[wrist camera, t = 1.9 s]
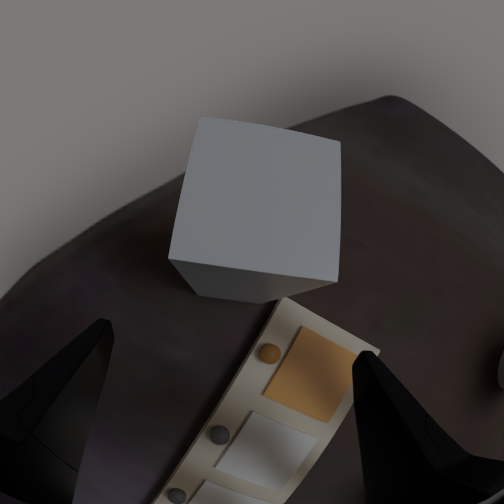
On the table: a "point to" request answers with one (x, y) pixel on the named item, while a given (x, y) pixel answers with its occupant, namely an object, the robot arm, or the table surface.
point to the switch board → (271, 414)
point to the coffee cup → (501, 371)
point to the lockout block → (258, 212)
